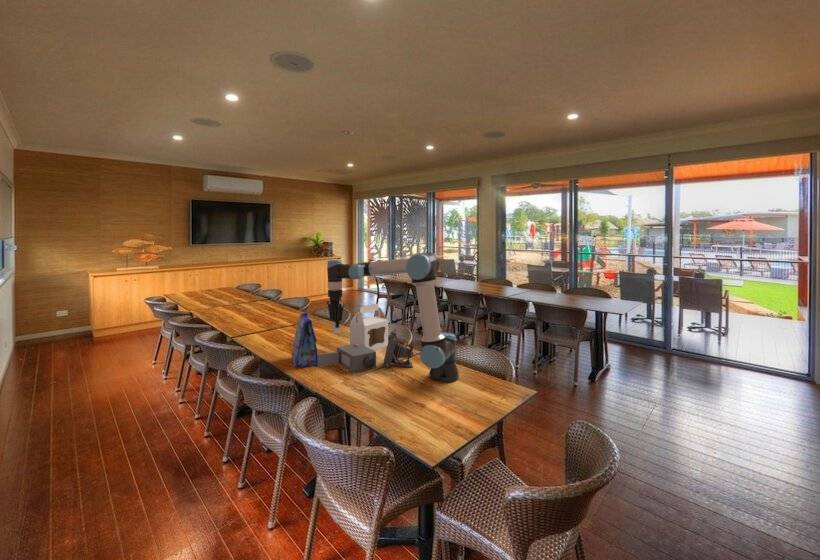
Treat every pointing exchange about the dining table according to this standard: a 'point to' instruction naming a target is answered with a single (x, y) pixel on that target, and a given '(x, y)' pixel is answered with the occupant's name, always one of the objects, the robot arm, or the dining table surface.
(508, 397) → the dining table surface
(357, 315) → the gable box
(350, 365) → the box
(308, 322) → the lunch bag
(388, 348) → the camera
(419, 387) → the dining table surface
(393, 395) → the dining table surface
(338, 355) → the side door
